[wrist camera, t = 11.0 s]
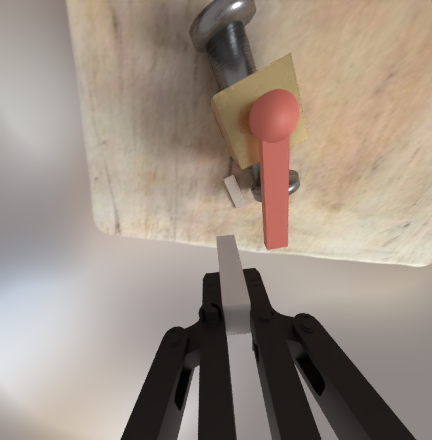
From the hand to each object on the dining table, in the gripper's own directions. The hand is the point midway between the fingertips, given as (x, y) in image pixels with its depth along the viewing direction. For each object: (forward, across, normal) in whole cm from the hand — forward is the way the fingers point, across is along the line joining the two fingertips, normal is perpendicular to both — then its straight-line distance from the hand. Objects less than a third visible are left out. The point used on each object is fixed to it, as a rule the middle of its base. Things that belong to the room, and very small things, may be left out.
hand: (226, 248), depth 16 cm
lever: (+4, +5, +4) cm, 8 cm away
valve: (+13, +4, +8) cm, 16 cm away
